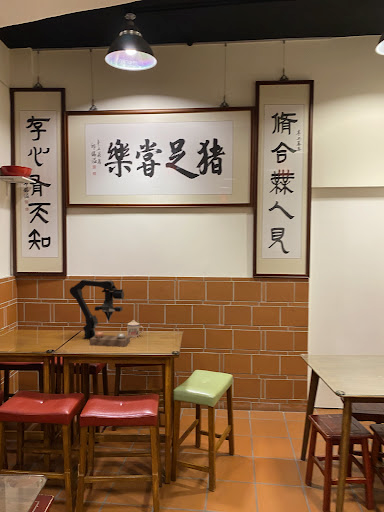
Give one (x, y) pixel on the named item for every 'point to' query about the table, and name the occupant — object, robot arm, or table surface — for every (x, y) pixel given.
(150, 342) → the table surface
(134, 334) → the teacup with lid
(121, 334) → the grey plunger
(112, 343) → the press block
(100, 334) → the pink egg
